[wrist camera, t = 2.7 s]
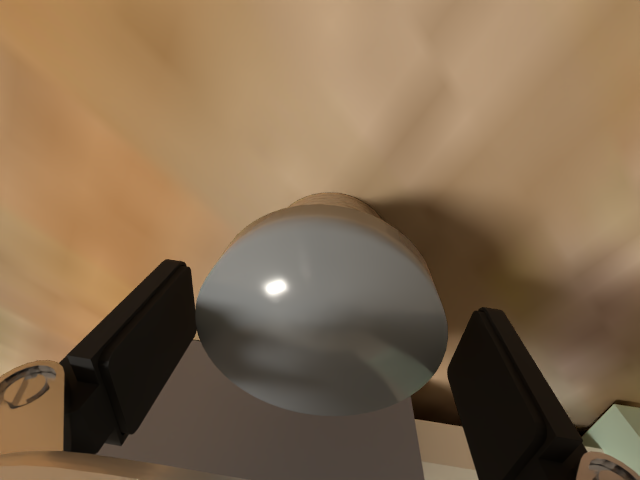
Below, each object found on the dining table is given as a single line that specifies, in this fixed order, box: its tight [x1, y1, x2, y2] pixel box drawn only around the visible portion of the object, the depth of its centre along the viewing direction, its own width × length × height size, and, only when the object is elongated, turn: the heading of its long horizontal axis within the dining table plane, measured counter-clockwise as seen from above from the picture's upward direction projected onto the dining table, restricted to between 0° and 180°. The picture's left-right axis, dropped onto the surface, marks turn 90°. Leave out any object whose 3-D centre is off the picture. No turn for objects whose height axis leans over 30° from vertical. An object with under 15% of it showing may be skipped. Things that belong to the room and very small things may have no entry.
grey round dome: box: [195, 204, 448, 416], centre depth 9 cm, size 7×7×2 cm
